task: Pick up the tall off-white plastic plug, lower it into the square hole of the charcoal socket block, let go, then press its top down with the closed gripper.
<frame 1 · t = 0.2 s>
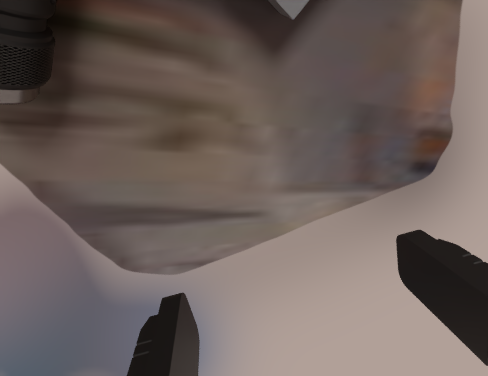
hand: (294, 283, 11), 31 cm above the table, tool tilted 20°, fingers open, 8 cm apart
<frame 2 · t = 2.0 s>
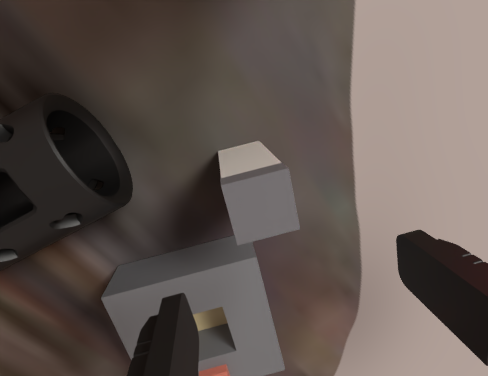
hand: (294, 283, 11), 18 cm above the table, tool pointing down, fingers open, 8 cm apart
socket: (202, 301, 32), on the table
plug: (243, 165, 28), on the table
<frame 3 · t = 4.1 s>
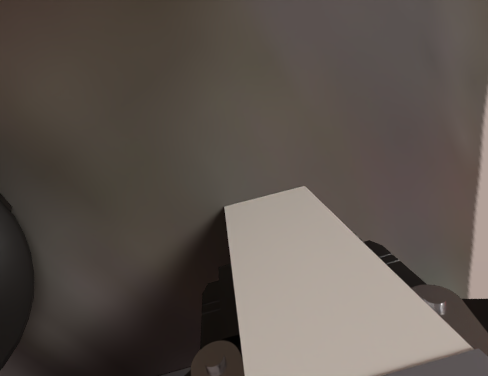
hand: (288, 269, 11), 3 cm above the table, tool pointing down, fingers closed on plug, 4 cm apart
plug: (272, 232, 14), on the table, touching gripper
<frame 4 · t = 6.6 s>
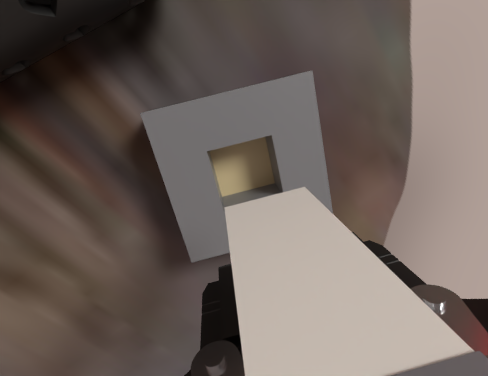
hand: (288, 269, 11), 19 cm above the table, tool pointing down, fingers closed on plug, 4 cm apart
socket: (241, 161, 30), on the table
plug: (272, 233, 14), point 16 cm above the table, touching gripper
muzzle brake: (14, 28, 24), on the table
when the fingers open (6 cm above the table, at t = 9.3 s): plug drops 2 cm, resting on socket.
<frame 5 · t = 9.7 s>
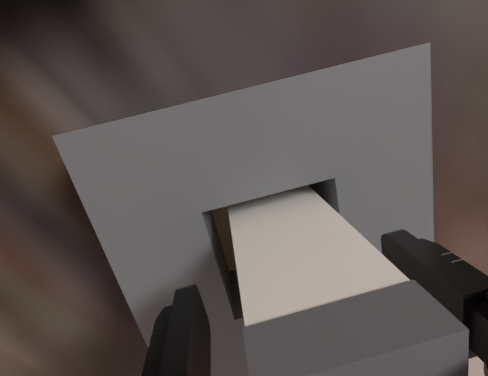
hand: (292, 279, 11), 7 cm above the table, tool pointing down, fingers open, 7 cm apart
socket: (262, 210, 17), on the table
plug: (269, 216, 16), point 1 cm above the table, touching socket
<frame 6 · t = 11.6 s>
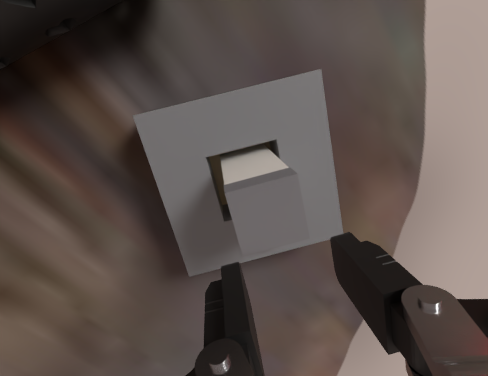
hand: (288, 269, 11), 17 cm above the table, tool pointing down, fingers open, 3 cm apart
socket: (242, 167, 28), on the table
plug: (246, 169, 27), point 1 cm above the table, touching socket
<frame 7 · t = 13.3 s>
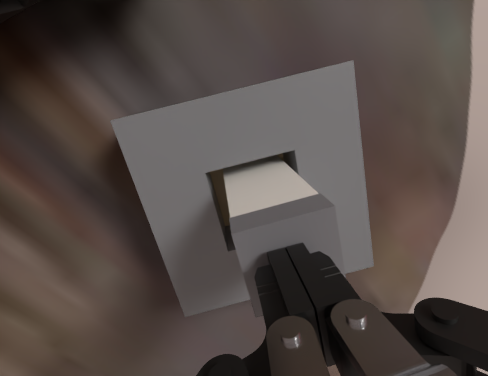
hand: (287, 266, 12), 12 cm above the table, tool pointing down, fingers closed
socket: (249, 180, 23), on the table
plug: (254, 184, 22), point 1 cm above the table, touching gripper, socket
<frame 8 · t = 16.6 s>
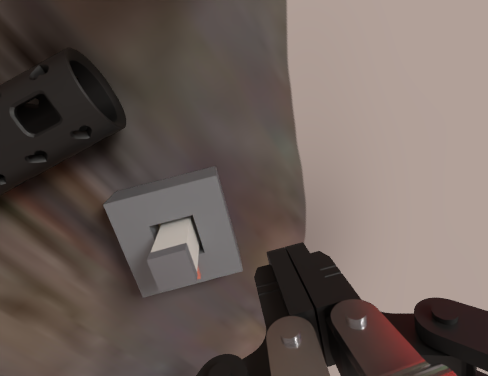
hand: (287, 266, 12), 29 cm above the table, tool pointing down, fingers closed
socket: (181, 223, 42), on the table
plug: (182, 226, 41), point 1 cm above the table, touching socket
muzzle brake: (20, 143, 36), on the table
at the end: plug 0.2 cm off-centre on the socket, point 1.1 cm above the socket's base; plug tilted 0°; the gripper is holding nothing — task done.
